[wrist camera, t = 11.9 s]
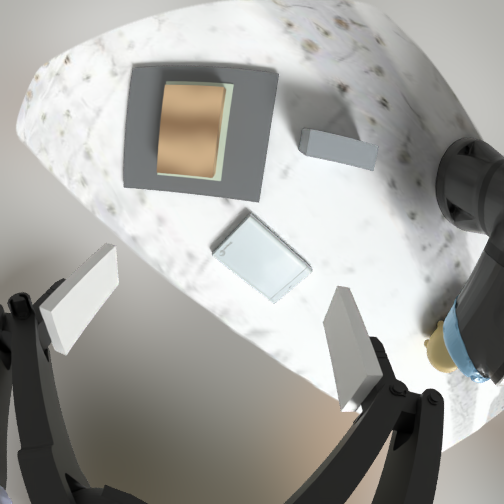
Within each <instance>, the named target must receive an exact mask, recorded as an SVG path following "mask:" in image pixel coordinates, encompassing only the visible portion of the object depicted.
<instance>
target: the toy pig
mask: <svg viewBox="0 0 504 504" xmlns="http://www.w3.org/2000/svg"><path fill="white" fill-rule="evenodd" d="M443 324H444V322H443V321H439V322H438V323H437V329H436V330H435V331H434V332H433V334H432V335H431V337H430V339H429V340H425V342H424V345H425V347H426V348H427V356H428V359H429V361H430V363H431V364H432V366H433V367H434V368H436V369H437V370H439V371H441V372H444V373H450V372H453V371H455V370H456V369H457V368H458V367H457V366H456V364H455V363H454V361H453V360H452V358H451V356H450V355H449V353H448V350H447V348H446V345H445V342H444V338H443V335H444V334H443Z"/></svg>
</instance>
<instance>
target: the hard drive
mask: <svg viewBox="0 0 504 504" xmlns="http://www.w3.org/2000/svg"><path fill="white" fill-rule="evenodd" d="M212 256H213V257H215V258H216V259H217V260H218V261H220V262H221V263H222V264H223V265H225V266H226V267H227V268H228V269H230V270H231V271H232V272H233V273H235V274H236V275H237V276H238V277H240V278H241V279H242V280H244V281H245V282H246V283H247V284H249V285H250V286H251V287H252V288H254V289H255V290H256V291H258V292H259V293H260V294H262V295H263V296H264V297H266V298H267V299H268V300H269V301H271V302H272V303H273V304H274V303H276V302H277V301H278V300H280V299H281V298H282V297H283V296H285V295H286V294H287V293H288V292H289V291H291V290H292V289H293V288H294V287H295V286H297V285H298V284H299V283H300V282H301V281H302V280H304V279H305V278H306V277H307V276H308V275H309V274H310V273H311V272H312V268H311V267H310V266H309V265H308V264H307V263H306V262H305V261H303V260H302V259H301V258H300V257H299V256H298V255H297V254H296V253H295V252H294V251H292V250H291V249H290V248H289V247H288V246H287V245H286V244H285V243H284V242H282V241H281V240H280V239H279V238H278V237H277V236H276V235H275V234H273V233H272V232H271V231H270V230H269V229H268V228H267V227H266V226H264V225H263V224H262V223H261V222H260V221H259V220H258V219H256V218H255V217H254V216H253V215H252V214H251V213H250V214H249V215H248V216H247V217H246V218H245V219H244V220H243V221H242V222H241V223H240V224H239V225H238V226H237V227H236V228H235V229H234V230H233V232H232V233H231V234H230V235H229V236H228V237H227V238H226V239H225V240H224V241H223V242H222V243H221V244H220V245H219V246H218V247H217V248H216V249H215V250H214V251H213V252H212Z"/></svg>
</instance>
